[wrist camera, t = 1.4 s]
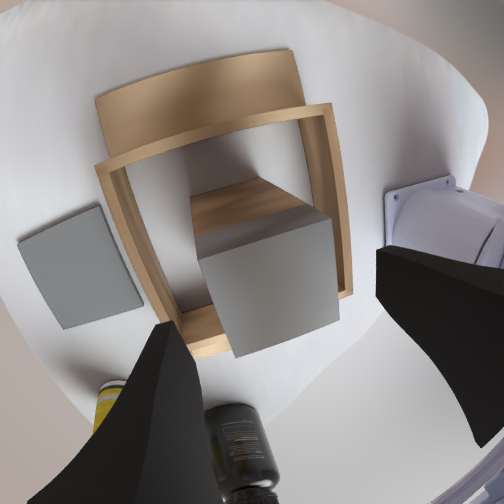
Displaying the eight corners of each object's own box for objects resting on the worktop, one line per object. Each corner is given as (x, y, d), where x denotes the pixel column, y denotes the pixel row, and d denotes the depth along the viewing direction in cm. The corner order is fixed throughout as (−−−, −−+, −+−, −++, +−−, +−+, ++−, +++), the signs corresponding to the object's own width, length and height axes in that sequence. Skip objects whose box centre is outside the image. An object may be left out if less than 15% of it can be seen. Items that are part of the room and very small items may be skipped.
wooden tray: (290, 51, 14) (314, 35, 11) (333, 310, 23) (353, 334, 20) (95, 99, 12) (75, 91, 9) (195, 357, 21) (199, 389, 18)
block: (260, 177, 17) (331, 218, 9) (274, 241, 19) (339, 320, 11) (190, 197, 16) (197, 260, 8) (210, 261, 18) (235, 358, 10)
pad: (100, 204, 15) (98, 206, 15) (144, 303, 18) (143, 306, 18) (19, 242, 14) (16, 244, 14) (64, 326, 17) (63, 329, 17)
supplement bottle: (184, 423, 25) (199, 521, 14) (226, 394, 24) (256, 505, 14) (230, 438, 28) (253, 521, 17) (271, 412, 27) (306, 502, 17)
